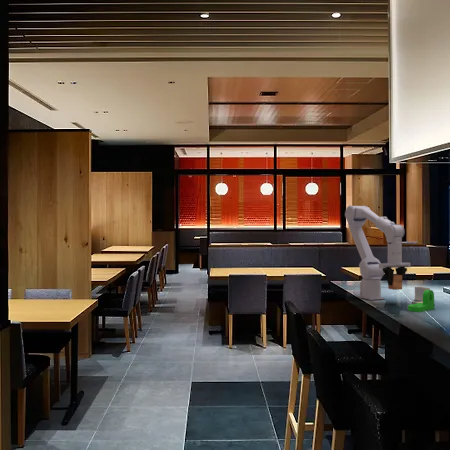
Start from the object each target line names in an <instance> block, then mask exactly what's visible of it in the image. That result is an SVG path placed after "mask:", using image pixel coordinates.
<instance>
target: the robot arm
mask: <svg viewBox="0 0 450 450" xmlns="http://www.w3.org/2000/svg"><path fill="white" fill-rule="evenodd" d="M344 217H345V219H346V222H347V224H348V228H349V229H348V230H349V231H350V234H351V237H352V240H353V242H354V244H355V246H356V248H357V252H358V254H359V257H360V258H361V261H360V262H359V264H358V267H359V272H360V276H361V277H362V279H360V282H359V296H358V298H360V299H365V300H368V301H371V300H373V301H374V300H385V299H386V298H385V297H382V293H381V292H382V289H381V288H382V286H381V285H382V284H381V283H382V282H381V281H382V280H381V279H383V277H384V275H385V277H386V282H387V286H388V285H392V284H393V274H397V275H402V282H403V280H404V277H405V274H406V273H407V271H408V268H411V262H402V260H403V259H402V258H403V255H402V252H403V250H402V249H403V248H402V247H403V244H402V240H403V239H402V238H403V237H404V236H405V233H406V231H405V228H404V226H403V225H402V224H396V223H395V222H394V221H391V220H390V219H388V217H387V216H379V215H377V213H375V212H373V210H371V208H370V207H368V206H367V205H351V204H350V205H348V206H347V207H346V209H345V211H344ZM367 220H368V221H370V222H371V223H373V224H374V225H375V228H376V229H378V230H379V231H380V232H382V233H384V235H385V239H386V242H387V262H384V263H383V262H382V263H381V261H380V260H379V259H378V258H376V257H375V256H374V254H373V252H372V249H371V247H370V245H369V242H368V239H367V236H366V235H365V232H364V230H363V226H364V225H365V223H366V222H367ZM394 272H395V273H394Z"/></svg>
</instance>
